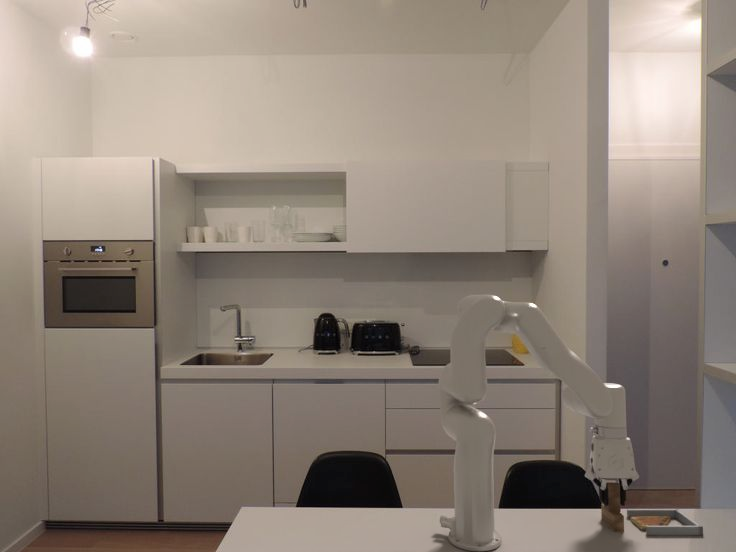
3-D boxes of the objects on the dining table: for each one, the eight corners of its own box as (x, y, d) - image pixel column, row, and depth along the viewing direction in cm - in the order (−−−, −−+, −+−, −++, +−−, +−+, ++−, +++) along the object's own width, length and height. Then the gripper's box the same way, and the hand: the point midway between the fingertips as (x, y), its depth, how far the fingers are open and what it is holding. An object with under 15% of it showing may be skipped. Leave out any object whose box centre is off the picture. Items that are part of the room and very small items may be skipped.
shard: (671, 521, 146) (670, 514, 146) (687, 534, 138) (687, 526, 138) (629, 521, 146) (629, 514, 146) (643, 534, 138) (643, 526, 138)
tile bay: (647, 535, 137) (647, 526, 137) (627, 516, 148) (626, 509, 148) (703, 535, 136) (702, 526, 136) (678, 516, 148) (677, 509, 148)
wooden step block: (613, 532, 139) (612, 487, 139) (600, 519, 147) (599, 477, 147) (625, 532, 139) (624, 487, 139) (612, 519, 147) (611, 477, 147)
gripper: (583, 435, 140) (585, 509, 139) (649, 435, 139) (652, 509, 139) (573, 428, 147) (575, 498, 147) (636, 428, 147) (638, 498, 146)
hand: (612, 503), depth 143 cm, fingers open, 3 cm apart
